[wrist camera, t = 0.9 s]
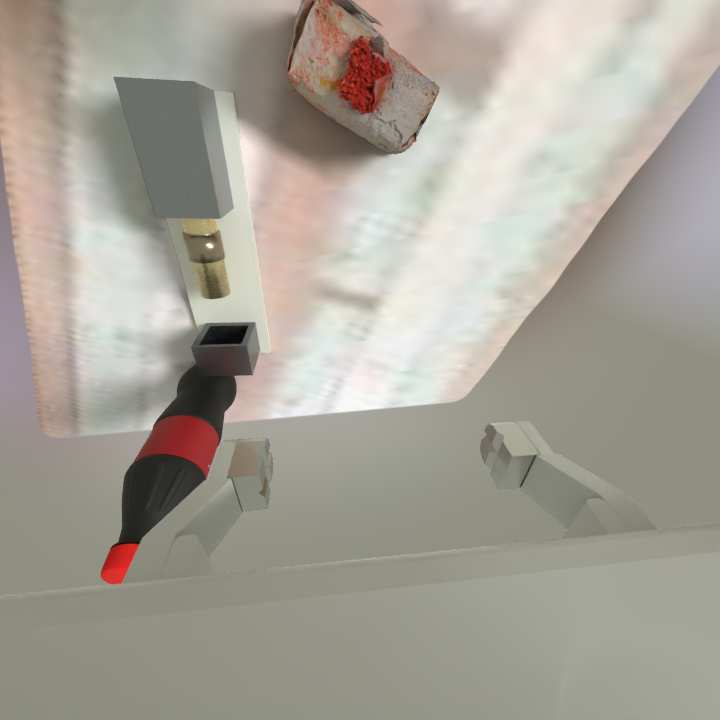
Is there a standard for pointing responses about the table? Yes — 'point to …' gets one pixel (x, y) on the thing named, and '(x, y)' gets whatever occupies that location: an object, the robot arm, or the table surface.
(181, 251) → the base
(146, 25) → the table surface
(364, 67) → the food item
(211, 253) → the tube
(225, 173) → the grey tapered slab
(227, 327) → the socket
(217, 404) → the cola bottle
